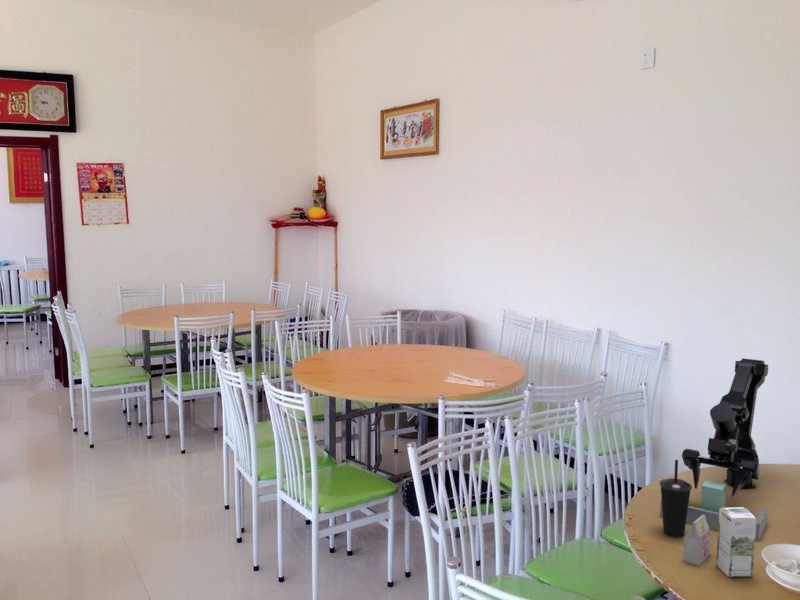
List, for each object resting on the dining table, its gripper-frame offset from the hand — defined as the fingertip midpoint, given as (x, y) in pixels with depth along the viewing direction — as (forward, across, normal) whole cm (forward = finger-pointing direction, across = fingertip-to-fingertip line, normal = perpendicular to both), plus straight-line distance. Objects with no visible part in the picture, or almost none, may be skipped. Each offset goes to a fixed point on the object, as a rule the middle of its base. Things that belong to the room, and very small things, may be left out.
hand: (713, 491), depth 179 cm
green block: (+6, 0, +5) cm, 8 cm away
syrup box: (+24, +10, -11) cm, 28 cm away
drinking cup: (+16, -6, -3) cm, 17 cm away
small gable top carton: (+22, +1, -10) cm, 25 cm away
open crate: (+6, 0, +6) cm, 9 cm away
